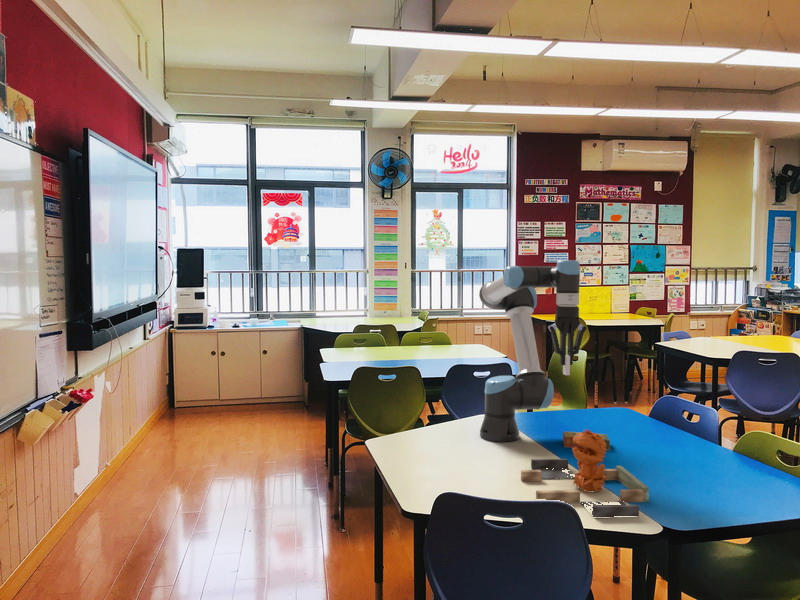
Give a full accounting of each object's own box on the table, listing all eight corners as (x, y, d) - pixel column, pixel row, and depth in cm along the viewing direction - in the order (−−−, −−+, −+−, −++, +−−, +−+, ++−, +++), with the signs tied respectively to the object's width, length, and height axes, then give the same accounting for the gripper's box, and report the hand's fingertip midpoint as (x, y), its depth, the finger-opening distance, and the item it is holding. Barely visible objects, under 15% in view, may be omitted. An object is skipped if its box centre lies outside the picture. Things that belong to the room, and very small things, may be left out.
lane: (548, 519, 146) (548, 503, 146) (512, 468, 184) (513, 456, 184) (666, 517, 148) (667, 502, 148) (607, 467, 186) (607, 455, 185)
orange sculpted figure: (562, 483, 171) (563, 425, 170) (593, 480, 174) (595, 422, 173) (582, 497, 161) (583, 435, 160) (615, 494, 163) (617, 432, 162)
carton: (562, 441, 215) (563, 430, 215) (607, 444, 212) (607, 433, 212) (564, 448, 207) (564, 436, 207) (610, 451, 204) (610, 439, 204)
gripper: (552, 306, 187) (550, 376, 188) (590, 306, 188) (589, 376, 189) (545, 305, 195) (544, 372, 196) (582, 305, 195) (581, 372, 196)
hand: (566, 374), depth 192 cm, fingers closed
